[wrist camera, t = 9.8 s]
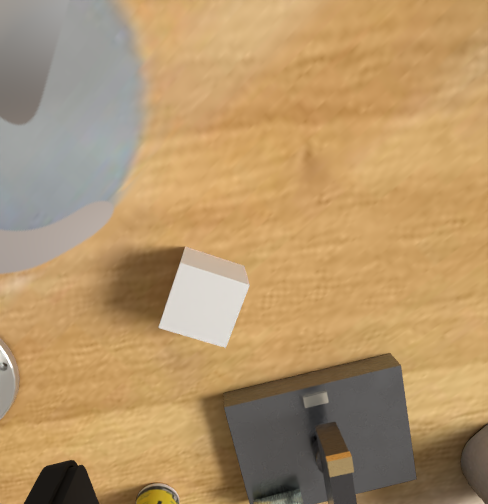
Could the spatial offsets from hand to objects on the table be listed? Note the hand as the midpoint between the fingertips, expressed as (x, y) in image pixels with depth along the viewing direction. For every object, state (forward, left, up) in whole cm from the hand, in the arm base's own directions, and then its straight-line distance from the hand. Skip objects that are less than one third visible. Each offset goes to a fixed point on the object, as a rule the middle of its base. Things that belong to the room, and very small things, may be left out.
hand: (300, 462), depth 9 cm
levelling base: (+4, -24, -30) cm, 39 cm away
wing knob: (+4, -24, -27) cm, 37 cm away
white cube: (-4, -5, -31) cm, 31 cm away
